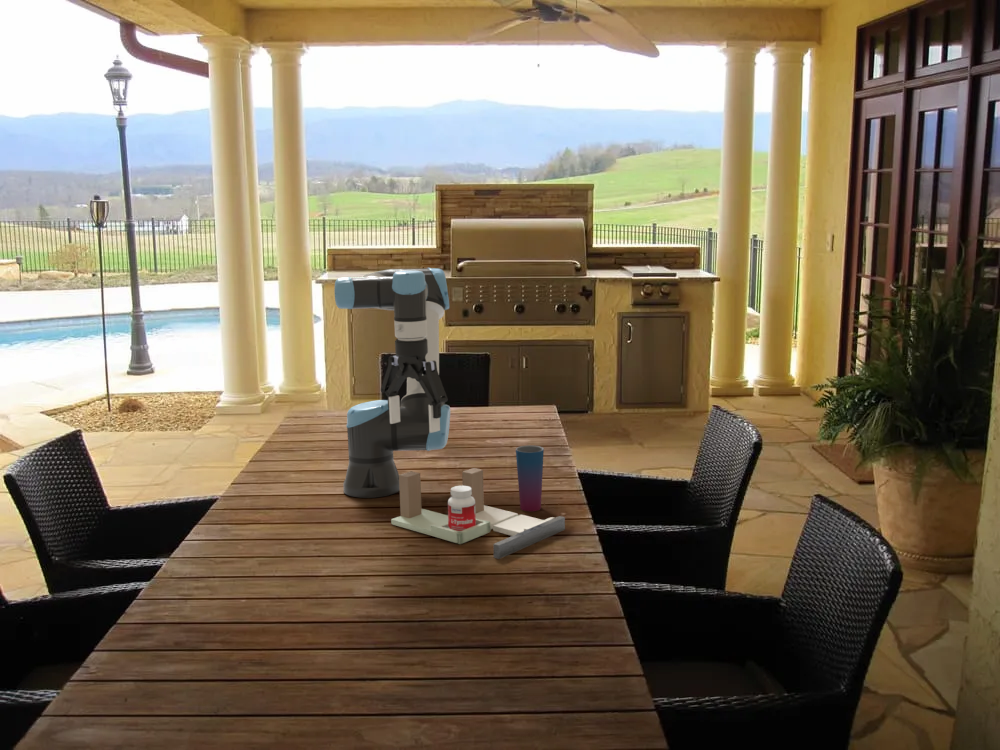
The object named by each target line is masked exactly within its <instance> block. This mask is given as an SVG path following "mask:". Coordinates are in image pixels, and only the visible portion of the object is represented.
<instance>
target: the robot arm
mask: <svg viewBox="0 0 1000 750" xmlns="http://www.w3.org/2000/svg"><path fill="white" fill-rule="evenodd" d="M334 301H335V305H336V307H337V308H338V309H339V310H341V309H342V310H343V309H344V310H346V309H348V310H355V309H356V310H357V309H358V310H359V309H378V310H383V311H384V310H385V311H393V315H394V317H393V322H394V323H393V324H394V337H395V338H396V339H395V341H394V346H395V347H394V348H395V355H390V356H389V357H388V358H387V359H388V362H387V363H388V364H387V368H386V370H385V375H384V377H383V380H382V383H381V387H380V392H381V393H382V394H383V393H384V394H385V396H386V397H387V399H377V400H371V401H370V400H369V401H366V402H361V403H359V404H356V405H353V406H352V407H350V408H349V409H348V411H347V412H346V425H345V427H346V430H347V447H348V448H347V449H348V464H347V465H348V466H347V469H346V475H345V479H344V480H343V483H342V485H343V493H344V494H345V495H347V496H350V497H352V498H360V499H361V498H362V499H363V498H365V499H367V498H368V499H371V498H372V499H373V498H381V497H389V496H391V495H394V494H397V493H399V492H400V488H399V475H400V473H399V471H398V468H397V466H396V463H395V460H394V458H395V457H394V452H400V451H401V452H402V451H403V452H406V451H408V452H410V451H414V452H415V451H427V452H430V451H435V450H443V449H444V448H445V447H446V446H447V444H448V439H449V434H450V424H451V423H450V422H451V407H450V405H448V404H446V402H448V400H449V399H448V395H447V393H446V391H445V387H444V386H443V382H442V380H441V377H440V323H439V322H440V321H439V320H441V319H443V317H444V315H445V311H447V310H449V309H450V299H449V292H448V285H447V279H446V273H445V271H444V270H443V269H442V268H433V267H432V268H431V267H426V268H389V269H384V270H379V271H373V272H370V273H366V274H365V275H363V276H359V277H358V276H356V277H355V276H353V277H351V276H346V277H338V278H336V280H335V281H334ZM405 380H406V394H405V395H403V397H402V398H401V400H400V395H398V394H399V391H400V389H401V387H402V386H403V384H404V382H405Z"/></svg>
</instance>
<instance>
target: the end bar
mask: <svg viewBox="0 0 1000 750" xmlns="http://www.w3.org/2000/svg"><path fill="white" fill-rule="evenodd" d="M565 521H566V518H565V516H562V515H559V516H556V517H554V518H553V519H551V520H549V521H546V522H544V523H542V524H539V525H537V526H535V527H532V528H530V529H527V530H525V531H523V532H520V533H518V534H516V535H513V536H511V535H510V537H506V538H504V539H502V540H500V541H497V542H495V543H493V545H492V546H493V558H494V559H497V560H501V559H503V558H505V557H507V556H509V555H511V554H512V555H513V554H514V553H516V552H518V551H521V550H523V549H525V548H527V547H530V546H531V545H534V544H536V543H539V542H541V541H542V540H543V541H544V540H545V539H547V538H550V537H552V536H554V535H556V534H559V533H560V532H563V531H565V530H566V526H565V525H566V522H565Z"/></svg>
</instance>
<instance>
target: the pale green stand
mask: <svg viewBox="0 0 1000 750" xmlns="http://www.w3.org/2000/svg"><path fill="white" fill-rule="evenodd" d="M421 483H422V482H421V472H416V471H413V470H410V471H407V472H404V473H401V474H400V473H399V488H400V491H399V502H400V503H399V506H400V507H399V511H400V516H396V517H394V518H391V520H390V522H391V525H393V526H397V527H400V528H404V529H407V530H411V531H414V532H416V533H420V534H424V535H428V536H432V537H435V538H437V539H442V540H445V541H448V542H451V543H455V544H458V545H462V544H465V543H467V542H469V541H472V540H474V539H476V538H479V537H481V536H484V535H486V534H488V533H491V530H490V522H489V521H485V520H482V519H478V518H476V525H475V526H473V527H470V528H468V529H465V530H462V531H456V530H452V529H449V528H448V514H443V513H440V512H437V511H432V510H429V509H425V508H422V487H421Z"/></svg>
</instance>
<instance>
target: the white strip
mask: <svg viewBox="0 0 1000 750" xmlns="http://www.w3.org/2000/svg"><path fill="white" fill-rule="evenodd" d="M553 518H555V517H553V516H552V517H548V518H546V519H540V518H536V517H532V516H529V515H525V514H518V516H516V517H513V518H511V519H508V520H506V521H504V522H501V523H499V524H496V525H494V526H493V529H492V530H493V532H496V533H501V534H504V535H508V536H510V537H511V536H513V535H516V534H518V533H520V532H523V531H525V530H527V529H530V528H532V527H535V526H537V525H539V524H542V523H544V522H546V521H549V520H551V519H553Z"/></svg>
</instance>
